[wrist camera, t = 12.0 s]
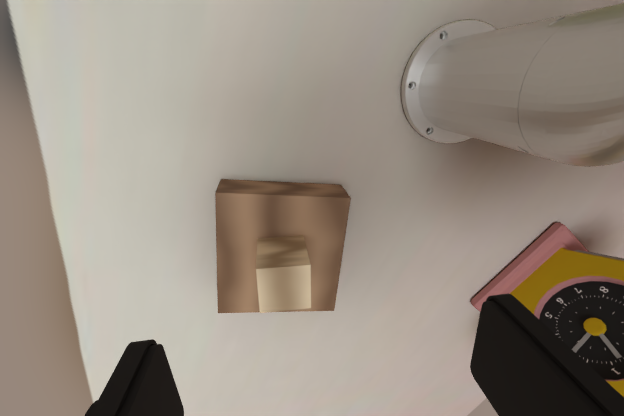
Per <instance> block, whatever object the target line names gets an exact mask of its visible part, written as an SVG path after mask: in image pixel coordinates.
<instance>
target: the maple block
mask: <svg viewBox="0 0 624 416" xmlns="http://www.w3.org/2000/svg"><path fill="white" fill-rule="evenodd" d="M256 275H257V287H258V298H259V310H260V313H266V312H277V311H287V310H297V309H307V308H311V264H310V260H309V256H308V252H307V248H306V244H305V240H304V236H303V235H299V236H285V237H270V238H257V259H256Z"/></svg>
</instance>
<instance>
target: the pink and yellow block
mask: <svg viewBox="0 0 624 416" xmlns="http://www.w3.org/2000/svg"><path fill="white" fill-rule="evenodd" d="M500 294H511V295H513V296H514V297H515V298H516V299H517V300H519V301H520V302H521V303H522V304H523V305H524V306H525V307H526V308H527V309H528V310H529V311H531V312H532V313H533V314H534V315H535V316H536V317H537V318H538V319H539V320H540V321H541V322H542V323H544V324H545V325H546V326H547V327H548V328H549V329H550V330H551V331H552V332H553V333H554V334H556V335H557V336H558V337H559V338H560V339H561V340H562V341H563V342H564V343H565V344H566V345H567V346H569V347H570V348H571V349H572V350H573V351H574V352H575V353H576V354H577V355H578V356H579V357H581V358H582V359H583V360H584V361H585V362H586V363H587V364H588V365H589V366H590V367H591V368H592V369H594V370H595V371H596V372H597V373H598V374H599V375H600V376H601V377H602V378H603V379H604V380H606V381H607V382H608V383H609V384H610V385H611V386H612V387H613V388H614V389H615V390H616V391H617V392H619V393H620V394H621V395H622V396H623V397H624V259H623V258H618V257H612V256H607V255H602V254H597V253H591V252H589V251H588V250H587V249H586V248H585V247H584V246H583V245H582V244H581V242H580V241H579V240H578V239H577V238H576V237H575V236H574V235H573V234H572V233H571V231H570V230H569V229H568V228H567V227H566V226H565V225H563V224H561V223H560V222H558V223H554V224H553V225H552V226H551V227H550V228H549V229H548V230H546V231H545V232H544V233H543V234H542V235H541V236H540V237H539V238H538V239H537V240H536V241H534V242H533V243H532V244H531V245H530V246H529V247H528V248H527V249H526V250H525V251H524V252H523V253H521V254H520V255H519V256H518V257H517V258H516V259H515V260H514V261H513V262H512V263H511V264H509V265H508V266H507V267H506V268H505V269H504V270H503V271H502V272H501V273H500V274H499V275H498V276H496V277H495V278H494V279H493V280H492V281H491V282H490V283H489V284H488V285H487V286H486V287H484V288H483V289H482V290H481V291H480V292H479V293H478V294H477V295H476V296H475V297H474V298H473V299H471V304H472V305H473V306H474V307H475V308H476V309H478V310H479V311H480V312H481V307H482V304H483V302H485V301H486V299H487V297H488V296H492V295H500Z"/></svg>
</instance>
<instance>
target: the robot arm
mask: <svg viewBox="0 0 624 416" xmlns="http://www.w3.org/2000/svg"><path fill="white" fill-rule="evenodd" d="M440 34H441V38H440ZM409 83H410V85H411V86H410V87H409V88H408V85H409ZM401 95H402V104H403V109H404V112H405V115H406V117H407V119H408V121H409V123H410V124H411V126H412V127H413V128H414V129H415V130H416V131H417V132H418V133H419V134H420V135H422V136H424V137H425V138H427V139H429V140H432V141H435V142H439V143H444V144H453V143H459V142H463V141H466V140H468V139H471V138H476V139H479V140H483V141H486V142H490V143H493V144H497V145H500V146H504V147H507V148H511V149H514V150H518V151H521V152H525V153H528V154H532V155H535V156H539V157H542V158H546V159H549V160H554V161H557V162H561V163H565V164H570V165H575V166H587V167H590V166H604V165H610V164H614V163H618V162H622V161H624V3H622V4H618V5H613V6H608V7H603V8H599V9H594V10H589V11H584V12H580V13H575V14H570V15H565V16H560V17H555V18H551V19H546V20H541V21H536V22H531V23H526V24H522V25H517V26H512V27H507V28H502V29H496V28H495V27H493V26H492V25H490V24H488V23H486V22H483V21H480V20H473V19H467V20H459V21H455V22H451V23H448V24H446V25H444V26H441V27H439V28H438V29H436V30H435V31H433V32H432V33H430V34H429V35H428V36H427V37H426V38H425V39H424V40H423V41H422V42H421V43H420V44H419V45H418V47H417V48H416V50H415V51H414V52H413V54H412V56H411V58H410V60H409V62H408V64H407V66H406V69H405V72H404V75H403V81H402V88H401ZM427 128H428V131H427V132H426V130H427ZM470 368H471V372H472V375H473V377H474V379H475V380H476V382H477V383H478V385H479V386H480V388H481V389H482V391H483V393H484V394H485V396H486V397H487V399H488V400H489V401H490V403H491V405H492V406H493V408H494V409H495V410H496V412H497V414H498V415H499V416H624V397H623V396H622V395H621V394H620V393H619V392H617V391H616V390H615V389H614V388H613V387H612V386H611V385H610V384H609V383H608V382H607V381H606V380H604V379H603V378H602V377H601V376H600V375H599V374H598V373H597V372H596V371H595V370H594V369H592V368H591V367H590V366H589V365H588V364H587V363H586V362H585V361H584V360H583V359H582V358H581V357H579V356H578V355H577V354H576V353H575V352H574V351H573V350H572V349H571V348H570V347H569V346H567V345H566V344H565V343H564V342H563V341H562V340H561V339H560V338H559V337H558V336H557V335H556V334H554V333H553V332H552V331H551V330H550V329H549V328H548V327H547V326H546V325H545V324H544V323H542V322H541V321H540V320H539V319H538V318H537V317H536V316H535V315H534V314H533V313H532V312H531V311H529V310H528V309H527V308H526V307H525V306H524V305H523V304H522V303H521V302H520V301H519V300H517V299H516V298H515V297H514V296H513V295H511V294H500V295H492V296H488V297H487V299H486V301H485V302H483V304H482V307H481V312H480V318H479V323H478V328H477V333H476V338H475V344H474V349H473V354H472V359H471V365H470ZM85 416H184V409H183V405H182V402H181V399H180V396H179V393H178V390H177V387H176V384H175V381H174V378H173V375H172V372H171V369H170V366H169V363H168V360H167V357H166V354H165V351H164V348H163V346H162V345H161V344H157V343H156V341H155V340H145V341H138V342H131V343H130V344H129V345H128V346H127V348H126V349H125V351H124V353H123V355H122V357H121V359H120V361H119V363H118V364H117V366H116V368H115V370H114V372H113V374H112V376H111V378H110V379H109V381H108V383H107V385H106V387H105V389H104V391H103V392H102V394H101V396H100V398H99V400H97V401H95V402H94V403H93V404H92V405H91V406H90V408H89V409H88V411H87V412H86V414H85Z"/></svg>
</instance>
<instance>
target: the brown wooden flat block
mask: <svg viewBox="0 0 624 416" xmlns="http://www.w3.org/2000/svg"><path fill="white" fill-rule="evenodd" d="M215 196H216V243H217V290H218V313H244V312H260V310H259V298H258V287H257V275H256V259H257V238H270V237H285V236H299V235H303V236H304V240H305V244H306V248H307V252H308V256H309V260H310V264H311V308H307V309H297V310H287V311H277V312H291V311H334V308H335V301H336V294H337V287H338V281H339V274H340V267H341V260H342V254H343V247H344V240H345V233H346V227H347V220H348V213H349V206H350V200H351V198H350V196H349V195H348V194H347V192H346V191H345V189H344V188H343V187H342V185H335V184H314V183H292V182H271V181H250V180H228V179H221V181H220V183H219V185H218V188H217V190H216V193H215Z"/></svg>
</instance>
